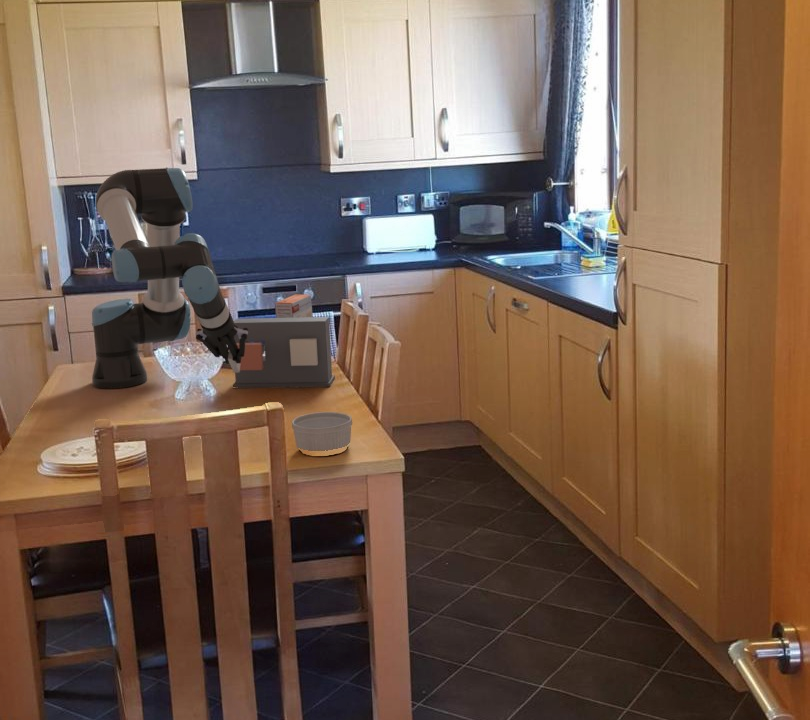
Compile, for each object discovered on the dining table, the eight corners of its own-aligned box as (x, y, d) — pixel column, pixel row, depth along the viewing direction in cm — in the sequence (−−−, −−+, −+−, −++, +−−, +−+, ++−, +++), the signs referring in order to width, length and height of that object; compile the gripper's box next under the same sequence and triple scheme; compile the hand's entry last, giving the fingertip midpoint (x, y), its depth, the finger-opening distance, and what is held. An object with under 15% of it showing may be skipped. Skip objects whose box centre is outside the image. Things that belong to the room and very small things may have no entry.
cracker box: (298, 361, 305) (293, 293, 300) (316, 362, 303) (312, 294, 299) (278, 372, 292) (273, 301, 288) (297, 373, 290) (293, 302, 286)
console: (329, 386, 274) (326, 322, 270) (232, 388, 277) (228, 324, 273) (334, 378, 283) (331, 315, 279) (240, 379, 285) (236, 317, 281)
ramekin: (294, 442, 227) (292, 412, 226) (352, 439, 228) (351, 409, 226) (292, 461, 214) (290, 430, 213) (354, 457, 215) (352, 426, 213)
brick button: (261, 369, 268) (260, 344, 267) (236, 370, 269) (234, 344, 267) (270, 360, 279) (268, 336, 277) (245, 361, 279) (243, 336, 278)
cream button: (316, 365, 271) (315, 340, 270) (291, 365, 272) (289, 340, 270) (323, 356, 282) (321, 332, 280) (298, 356, 282) (297, 332, 281)
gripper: (243, 302, 238) (263, 355, 258) (189, 303, 239) (214, 355, 259) (239, 329, 234) (260, 380, 254) (184, 329, 235) (210, 381, 255)
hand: (237, 367), depth 256 cm, fingers closed
